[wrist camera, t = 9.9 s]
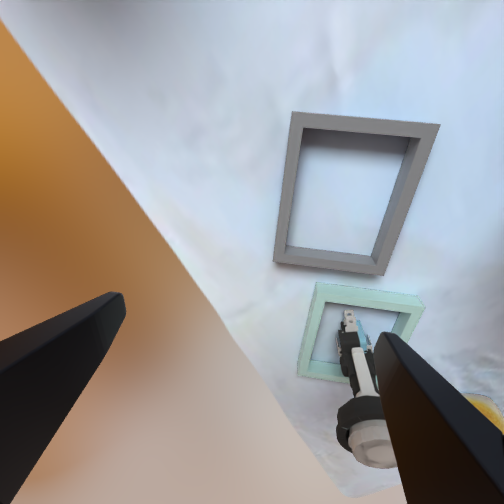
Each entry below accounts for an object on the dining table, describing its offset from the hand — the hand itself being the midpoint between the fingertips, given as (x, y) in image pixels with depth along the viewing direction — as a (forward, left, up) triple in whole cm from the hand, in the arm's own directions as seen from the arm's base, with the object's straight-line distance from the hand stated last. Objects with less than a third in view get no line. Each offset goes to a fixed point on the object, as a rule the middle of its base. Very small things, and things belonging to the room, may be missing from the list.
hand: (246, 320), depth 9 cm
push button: (-9, +12, -13) cm, 20 cm away
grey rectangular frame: (-5, -1, -13) cm, 14 cm away
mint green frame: (-9, +12, -13) cm, 20 cm away
